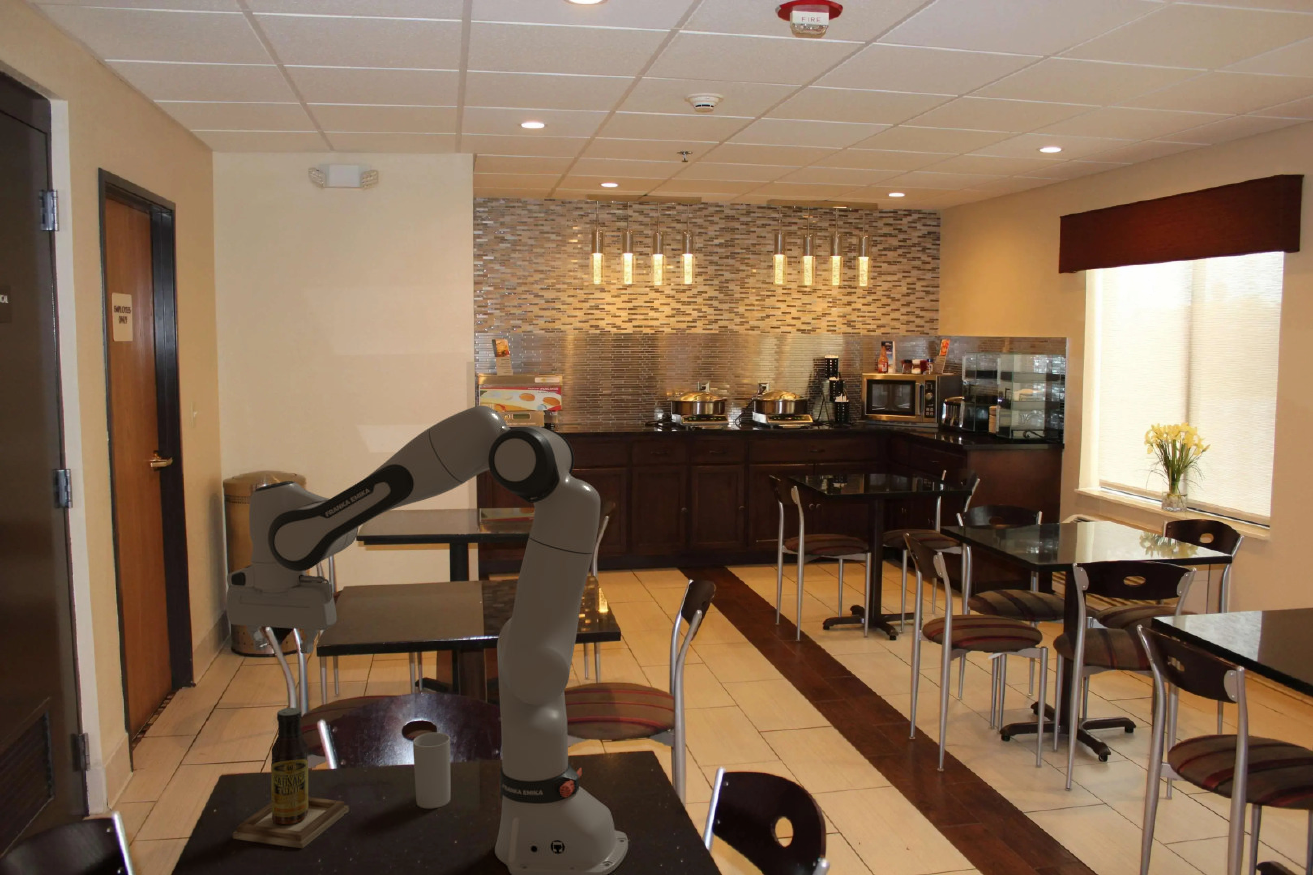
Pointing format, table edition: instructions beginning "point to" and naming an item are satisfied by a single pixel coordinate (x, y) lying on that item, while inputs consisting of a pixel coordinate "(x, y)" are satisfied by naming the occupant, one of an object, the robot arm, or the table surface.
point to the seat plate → (295, 834)
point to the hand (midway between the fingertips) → (283, 650)
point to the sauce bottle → (289, 770)
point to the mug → (432, 769)
